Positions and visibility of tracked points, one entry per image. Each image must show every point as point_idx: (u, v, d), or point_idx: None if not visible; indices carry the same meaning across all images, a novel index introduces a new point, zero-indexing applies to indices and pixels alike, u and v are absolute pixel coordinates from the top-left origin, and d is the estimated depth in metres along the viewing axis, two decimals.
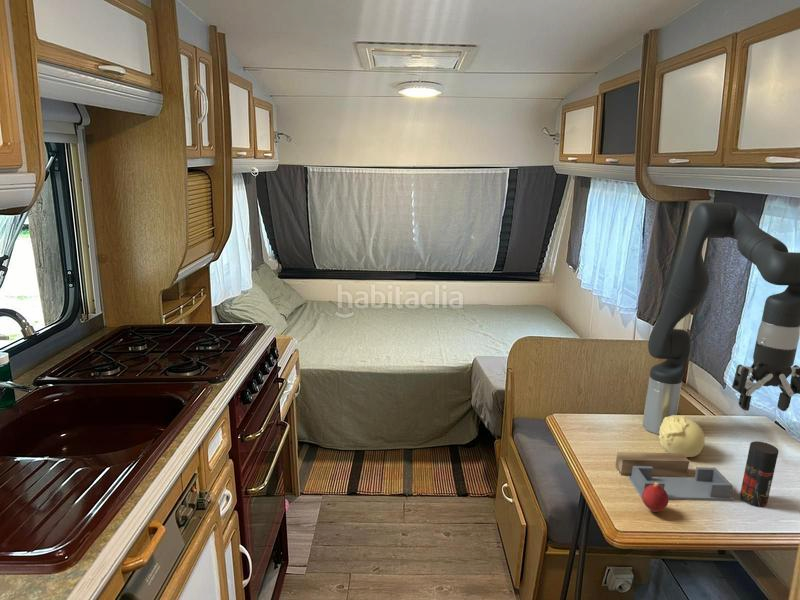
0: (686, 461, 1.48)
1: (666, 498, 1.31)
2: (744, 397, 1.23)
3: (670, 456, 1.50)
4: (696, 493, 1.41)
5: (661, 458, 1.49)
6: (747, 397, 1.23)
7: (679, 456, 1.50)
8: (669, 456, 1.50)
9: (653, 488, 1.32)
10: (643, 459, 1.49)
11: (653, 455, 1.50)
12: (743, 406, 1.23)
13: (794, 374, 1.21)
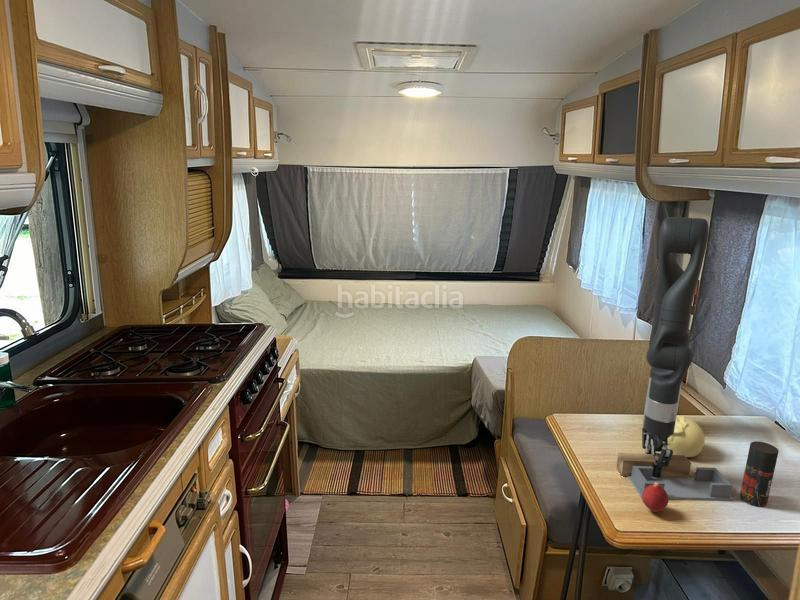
0: (688, 463, 1.47)
1: (666, 498, 1.31)
2: None
3: (672, 457, 1.49)
4: (696, 493, 1.41)
5: None
6: None
7: (681, 458, 1.49)
8: (671, 458, 1.49)
9: (653, 488, 1.32)
10: (644, 460, 1.48)
11: None
12: None
13: None
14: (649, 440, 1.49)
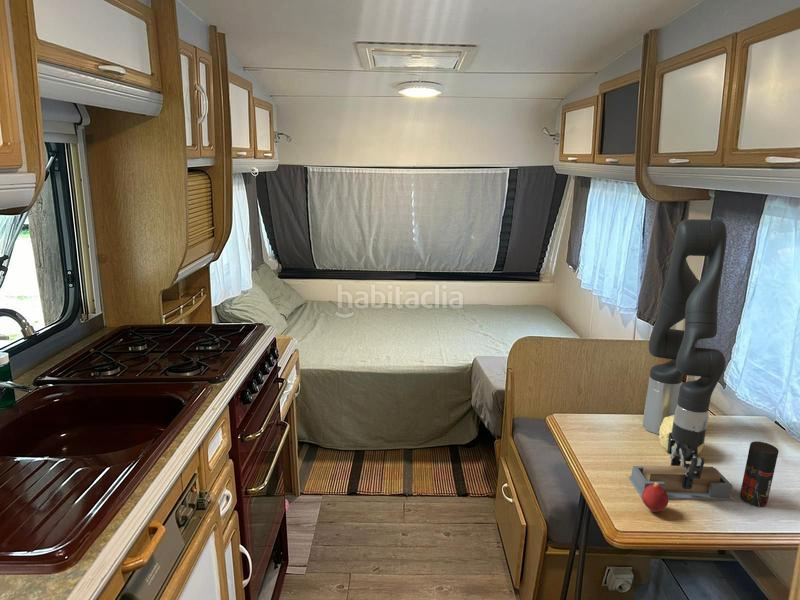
0: (717, 475, 1.40)
1: (666, 498, 1.31)
2: None
3: None
4: (696, 493, 1.41)
5: None
6: (692, 477, 1.38)
7: (709, 470, 1.42)
8: None
9: (653, 488, 1.32)
10: (672, 473, 1.41)
11: (682, 469, 1.42)
12: None
13: None
14: (677, 449, 1.42)
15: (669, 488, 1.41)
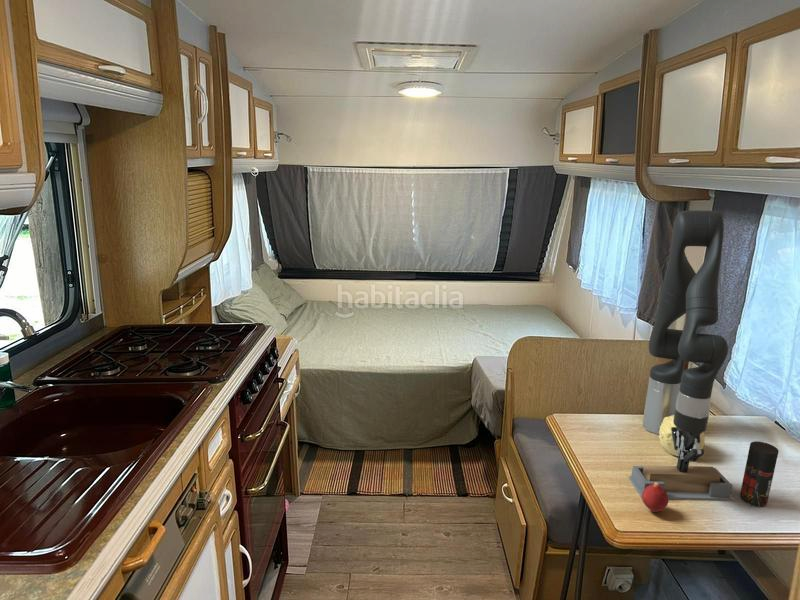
0: (717, 475, 1.40)
1: (666, 498, 1.31)
2: None
3: (700, 469, 1.42)
4: (696, 493, 1.41)
5: (691, 472, 1.41)
6: (688, 460, 1.40)
7: (709, 470, 1.42)
8: (699, 470, 1.42)
9: (653, 488, 1.32)
10: (672, 473, 1.41)
11: None
12: None
13: None
14: (680, 436, 1.40)
15: (669, 488, 1.41)
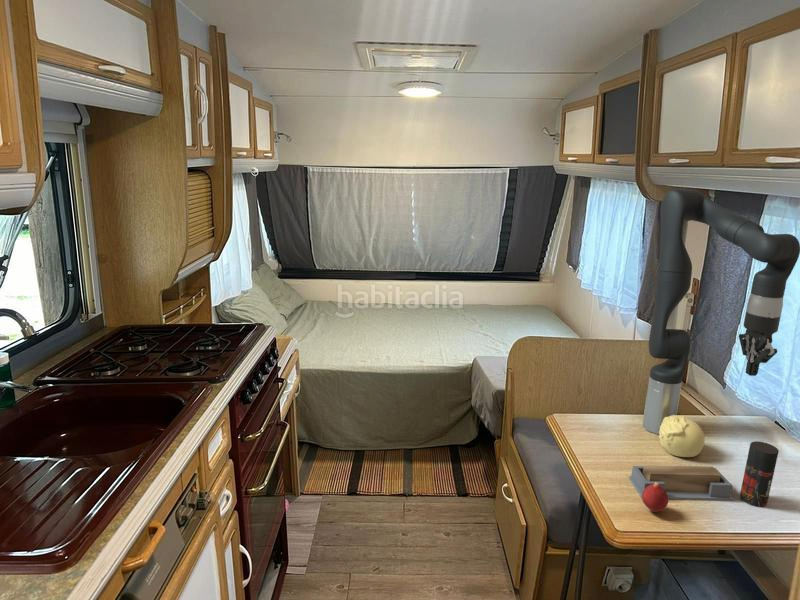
0: (717, 475, 1.40)
1: (666, 498, 1.31)
2: None
3: (700, 469, 1.42)
4: (696, 493, 1.41)
5: (691, 472, 1.41)
6: None
7: (709, 470, 1.42)
8: (699, 470, 1.42)
9: (653, 488, 1.32)
10: (672, 473, 1.41)
11: (682, 469, 1.42)
12: None
13: None
14: (750, 340, 1.42)
15: (669, 488, 1.41)
